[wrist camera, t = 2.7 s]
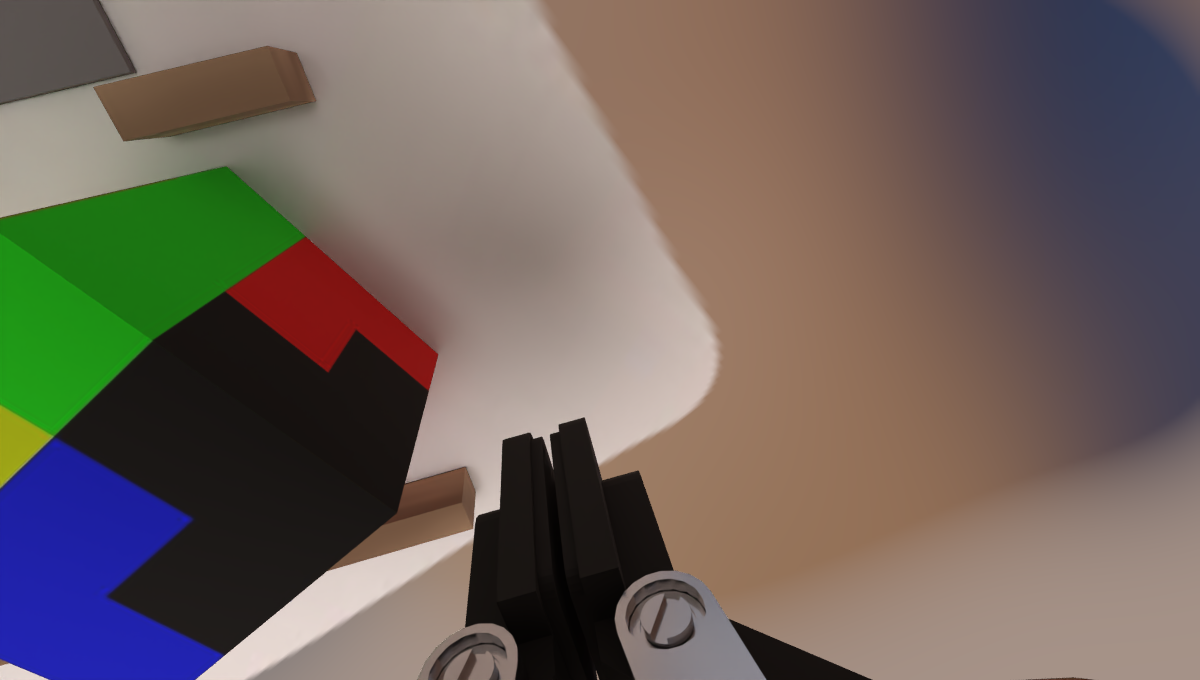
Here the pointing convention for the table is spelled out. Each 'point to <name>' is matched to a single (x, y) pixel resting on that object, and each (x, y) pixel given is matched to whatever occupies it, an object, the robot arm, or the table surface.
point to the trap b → (56, 47)
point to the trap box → (242, 93)
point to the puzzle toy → (184, 425)
